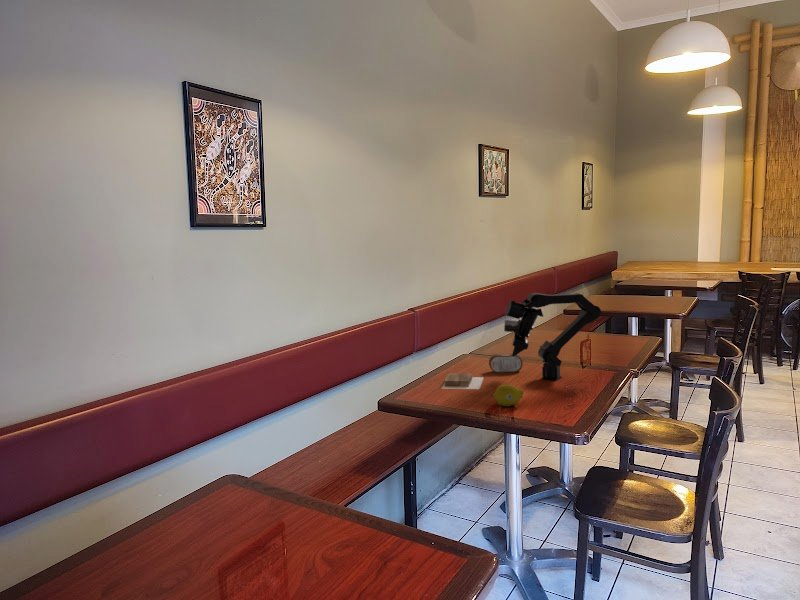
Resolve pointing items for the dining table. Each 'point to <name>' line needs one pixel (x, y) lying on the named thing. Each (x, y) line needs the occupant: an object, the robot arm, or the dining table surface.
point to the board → (458, 380)
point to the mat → (474, 384)
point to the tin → (505, 363)
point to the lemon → (508, 395)
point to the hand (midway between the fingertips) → (513, 350)
